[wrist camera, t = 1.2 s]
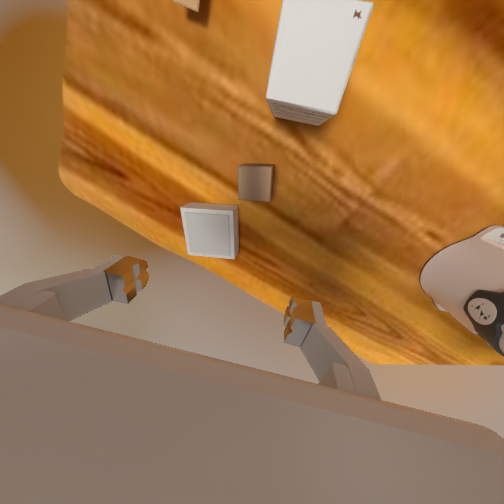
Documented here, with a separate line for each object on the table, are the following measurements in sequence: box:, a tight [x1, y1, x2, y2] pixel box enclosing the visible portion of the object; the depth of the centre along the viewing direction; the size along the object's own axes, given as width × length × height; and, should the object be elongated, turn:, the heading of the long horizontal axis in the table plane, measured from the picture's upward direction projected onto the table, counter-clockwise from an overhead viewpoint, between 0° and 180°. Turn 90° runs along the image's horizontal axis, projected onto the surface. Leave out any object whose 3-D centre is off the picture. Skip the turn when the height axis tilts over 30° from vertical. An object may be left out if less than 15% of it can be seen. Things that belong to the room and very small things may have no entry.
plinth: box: [180, 202, 239, 259], centre depth 38 cm, size 10×10×4 cm
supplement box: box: [266, 0, 374, 126], centre depth 22 cm, size 7×7×13 cm
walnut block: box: [238, 163, 274, 202], centre depth 31 cm, size 5×5×6 cm
